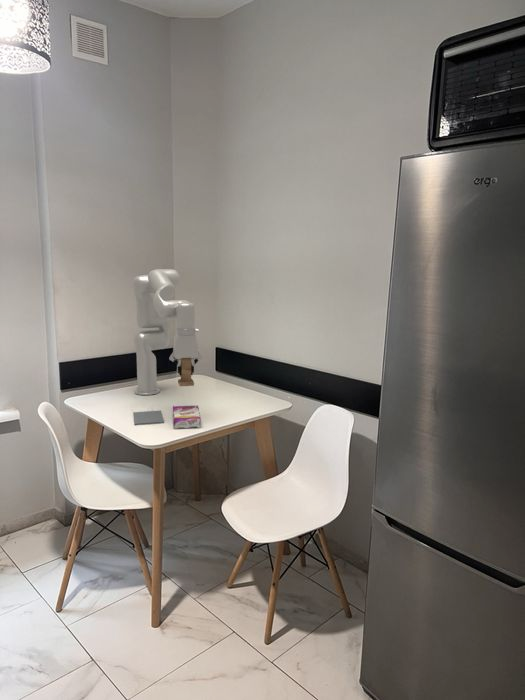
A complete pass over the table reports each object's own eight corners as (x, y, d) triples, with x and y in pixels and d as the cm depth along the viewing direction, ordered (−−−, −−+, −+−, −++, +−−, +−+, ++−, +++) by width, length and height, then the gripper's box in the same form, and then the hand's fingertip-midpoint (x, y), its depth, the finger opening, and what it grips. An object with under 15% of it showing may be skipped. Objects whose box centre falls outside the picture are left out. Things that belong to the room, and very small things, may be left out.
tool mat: (133, 413, 225) (133, 412, 225) (160, 411, 228) (160, 410, 228) (134, 425, 210) (134, 423, 210) (164, 423, 213) (164, 421, 213)
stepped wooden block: (178, 382, 219) (177, 355, 217) (191, 381, 221) (191, 355, 218) (179, 386, 214) (179, 358, 211) (193, 385, 215) (193, 358, 213)
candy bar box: (198, 404, 223) (201, 416, 207) (198, 415, 224) (201, 428, 208) (172, 405, 221) (173, 417, 205) (172, 416, 222) (173, 429, 206)
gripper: (204, 330, 219) (203, 371, 222) (164, 331, 214) (165, 373, 218) (207, 333, 211) (206, 375, 215) (166, 334, 207) (166, 377, 211)
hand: (185, 374), depth 216 cm, fingers closed on stepped wooden block, 4 cm apart
